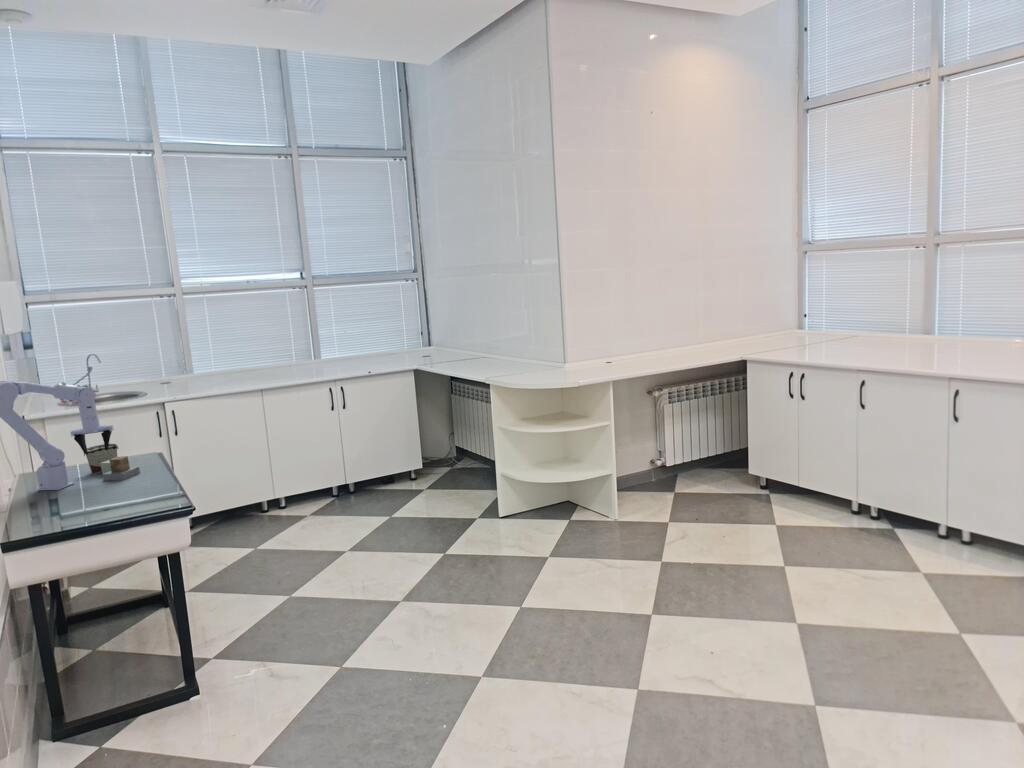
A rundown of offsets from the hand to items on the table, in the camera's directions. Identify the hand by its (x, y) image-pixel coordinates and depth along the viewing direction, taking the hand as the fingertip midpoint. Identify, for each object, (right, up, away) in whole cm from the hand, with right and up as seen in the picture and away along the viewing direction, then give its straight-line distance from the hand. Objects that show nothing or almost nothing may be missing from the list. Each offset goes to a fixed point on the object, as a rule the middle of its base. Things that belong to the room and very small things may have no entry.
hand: (96, 451), depth 280 cm
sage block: (+3, -9, +6) cm, 12 cm away
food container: (-4, -9, +13) cm, 16 cm away
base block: (+10, -10, 0) cm, 15 cm away
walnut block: (+10, -7, -1) cm, 13 cm away
